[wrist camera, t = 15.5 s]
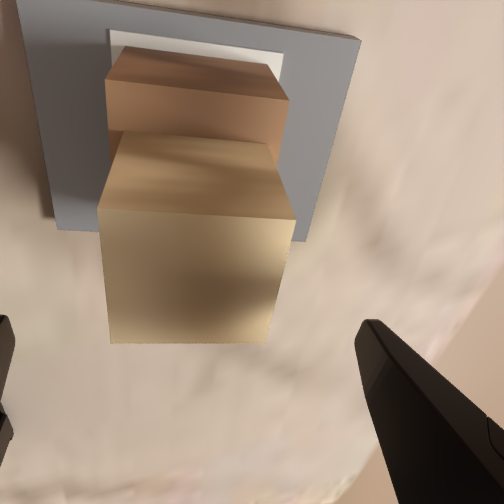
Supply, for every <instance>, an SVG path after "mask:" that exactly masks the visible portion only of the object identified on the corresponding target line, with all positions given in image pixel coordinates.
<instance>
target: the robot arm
mask: <svg viewBox="0 0 504 504" xmlns="http://www.w3.org/2000/svg"><path fill="white" fill-rule="evenodd" d="M354 344H355V351H356V356H357V361H358V366H359V371H360V375H361V380H362V385H363V390H364V394H365V399H366V402H367V405H368V409H369V412H370V415H371V418H372V421H373V424H374V427H375V431H376V434H377V437H378V440H379V443H380V446H381V449H382V453H383V456H384V459H385V462H386V465H387V468H388V471H389V474H390V477H391V481H392V484H393V487H394V490H395V493H396V496H397V500H398V503H399V504H504V430H503V429H502V428H501V427H500V426H499V425H498V424H497V423H495V422H494V421H493V420H492V419H491V418H490V417H487V415H486V414H485V413H484V412H483V411H482V410H481V409H480V408H478V407H477V406H476V405H475V404H474V403H473V402H471V400H469V399H468V398H467V397H466V396H465V395H464V394H462V393H461V392H460V391H459V390H458V389H457V388H456V387H455V386H454V385H452V384H451V383H450V382H449V381H448V380H447V379H446V378H445V377H443V376H442V375H441V374H440V373H439V372H438V371H437V370H436V369H435V368H433V367H432V366H431V365H430V364H429V363H428V362H427V361H426V360H424V359H423V358H422V357H421V356H420V355H419V354H418V353H417V352H415V351H414V350H413V349H412V348H411V347H410V346H409V345H408V344H406V343H405V342H404V341H403V340H402V339H401V338H400V337H399V336H397V335H396V334H395V333H394V332H393V331H392V330H391V329H390V328H388V327H387V326H386V325H385V324H384V323H383V322H382V321H380V320H378V319H366V320H364V321H363V322H362V324H361V327H360V329H359V331H358V333H357V335H356V338H355V343H354ZM14 347H15V336H14V333H13V330H12V327H11V324H10V321H9V318H8V317H7V316H6V315H0V401H1V397H2V394H3V390H4V386H5V382H6V378H7V374H8V371H9V367H10V363H11V359H12V355H13V351H14ZM13 435H14V433H13V428H12V426H11V424H10V421H9V419H8V416H7V415H6V413H5V411H4V409H3V406H2V404H1V402H0V466H1V463H2V461H3V458H4V455H5V452H6V450H7V447H8V444H9V441H10V440H12V438H13Z"/></svg>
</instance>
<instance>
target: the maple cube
mask: <svg viewBox="0 0 504 504" xmlns="http://www.w3.org/2000/svg"><path fill="white" fill-rule="evenodd" d="M97 213H98V223H99V233H100V243H101V252H102V262H103V272H104V282H105V292H106V302H107V311H108V321H109V331H110V341H111V344H124V343H265V342H266V338H267V334H268V330H269V326H270V322H271V318H272V314H273V310H274V306H275V303H276V299H277V295H278V291H279V287H280V283H281V279H282V275H283V271H284V267H285V263H286V259H287V255H288V251H289V247H290V243H291V240H292V236H293V232H294V228H295V224H296V218H295V215H294V213H293V210H292V207H291V205H290V202H289V199H288V197H287V194H286V191H285V189H284V186H283V183H282V181H281V178H280V175H279V173H278V170H277V167H276V165H275V162H274V159H273V157H272V154H271V151H270V149H269V146H268V144H262V143H251V142H240V141H230V140H219V139H208V138H198V137H187V136H177V135H166V134H155V133H145V132H134V131H124V132H123V135H122V138H121V141H120V144H119V147H118V150H117V152H116V155H115V158H114V161H113V164H112V167H111V170H110V173H109V175H108V178H107V181H106V184H105V187H104V190H103V193H102V196H101V198H100V201H99V204H98V207H97Z"/></svg>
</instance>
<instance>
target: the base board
mask: <svg viewBox="0 0 504 504" xmlns="http://www.w3.org/2000/svg"><path fill="white" fill-rule="evenodd" d="M16 3H17V8H18V14H19V19H20V25H21V31H22V36H23V42H24V47H25V53H26V58H27V64H28V70H29V75H30V81H31V86H32V92H33V97H34V103H35V109H36V114H37V120H38V125H39V131H40V136H41V142H42V148H43V153H44V159H45V164H46V170H47V175H48V181H49V187H50V192H51V198H52V203H53V209H54V215H55V220H56V226H57V230H69V231H90V232H99V223H98V213H97V207H98V204H99V201H100V198H101V196H102V193H103V190H104V187H105V184H106V181H107V178H108V175H109V173H110V170H111V160H110V146H109V132H108V119H107V105H106V91H105V78H106V76H107V75H108V73H109V71H110V70H111V68H112V66H113V65H114V63H115V62H116V60H117V58H118V57H119V55H120V53H121V52H122V50H123V48H124V47H125V46H131V47H139V48H146V49H154V50H162V51H169V52H177V53H184V54H192V55H200V56H207V57H215V58H223V59H230V60H238V61H246V62H253V63H261V64H268V66H269V67H270V69H271V71H272V72H273V74H274V76H275V77H276V79H277V81H278V82H279V84H280V85H281V87H282V89H283V90H284V92H285V94H286V95H287V97H288V99H289V100H290V102H289V107H288V112H287V117H286V122H285V127H284V132H283V137H282V142H281V147H280V152H279V157H278V162H277V170H278V173H279V175H280V178H281V181H282V183H283V186H284V189H285V191H286V194H287V197H288V199H289V202H290V205H291V207H292V210H293V213H294V215H295V218H296V224H295V228H294V232H293V236H292V240H291V241H299V242H305V241H306V238H307V234H308V231H309V227H310V224H311V220H312V216H313V213H314V209H315V206H316V202H317V199H318V195H319V191H320V188H321V184H322V181H323V177H324V174H325V170H326V166H327V163H328V159H329V156H330V152H331V149H332V145H333V141H334V138H335V134H336V131H337V127H338V124H339V120H340V116H341V113H342V109H343V106H344V102H345V99H346V95H347V91H348V88H349V84H350V81H351V77H352V74H353V70H354V66H355V63H356V59H357V56H358V52H359V49H360V45H361V40H360V39H358V38H356V37H355V36H348V35H342V34H335V33H328V32H322V31H315V30H308V29H302V28H295V27H289V26H282V25H275V24H269V23H262V22H255V21H249V20H242V19H235V18H229V17H222V16H215V15H209V14H202V13H195V12H189V11H182V10H175V9H169V8H162V7H156V6H149V5H142V4H136V3H129V2H122V1H116V0H16Z"/></svg>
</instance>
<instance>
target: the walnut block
mask: <svg viewBox="0 0 504 504" xmlns="http://www.w3.org/2000/svg"><path fill="white" fill-rule="evenodd" d="M105 91H106V105H107V119H108V132H109V146H110V160H111V167H112V164H113V161H114V158H115V155H116V152H117V150H118V147H119V144H120V141H121V138H122V135H123V132H124V131H134V132H145V133H155V134H166V135H177V136H187V137H198V138H208V139H219V140H230V141H240V142H251V143H262V144H268V146H269V149H270V151H271V154H272V157H273V159H274V162H275V165H276V167H277V162H278V157H279V152H280V147H281V142H282V137H283V132H284V127H285V122H286V117H287V112H288V107H289V102H290V100H289V99H288V97H287V95H286V94H285V92H284V90H283V89H282V87H281V85H280V84H279V82H278V81H277V79H276V77H275V76H274V74H273V72H272V71H271V69H270V67H269V66H268V64H261V63H253V62H246V61H238V60H230V59H223V58H215V57H207V56H200V55H192V54H184V53H177V52H169V51H162V50H154V49H146V48H139V47H131V46H125V47H124V48H123V50H122V52H121V53H120V55H119V57H118V58H117V60H116V62H115V63H114V65H113V66H112V68H111V70H110V71H109V73H108V75H107V76H106V78H105Z"/></svg>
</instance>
